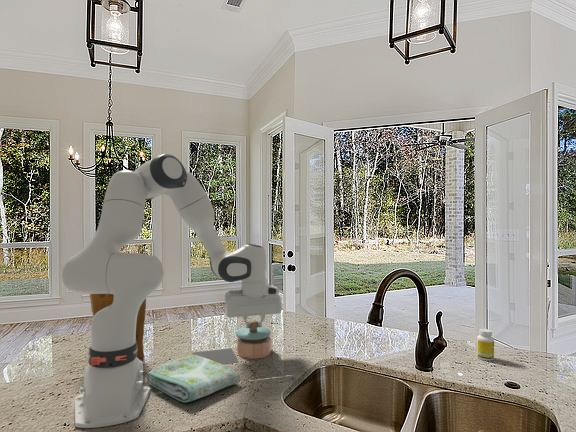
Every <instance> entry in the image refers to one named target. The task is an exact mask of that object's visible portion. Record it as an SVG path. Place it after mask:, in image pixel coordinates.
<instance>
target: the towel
mask: <svg viewBox="0 0 576 432" xmlns="http://www.w3.org/2000/svg"><path fill="white" fill-rule="evenodd" d="M147 374H148V381H149V382H148V383H149V385H150V386H151V387H153V388H155V389H156V390H158V391H160V392H162V393H165V394H166V395H168V396H169V397H171V398H173V399H175V400H177V401H178V402H181V403H189V402H193V401H196V400H198V399H201V398H203V397H204V398H205V397H206V396H209V395H211V394H213V393H216V392H217V391H221V390H222V389H225V388H227V387H230V386H232V385H233V386H234V385H235V384H237V383H238V382H239V381H240V379H241V375H240V374H239V372H238V371H237V370H234V369H233V368H232V367H229V366H227V365H226V364H219V363H217V362H215V361H212V360H210V359H206V358H203V357H201V356H198V355H193V354H189V355H186V356H183V357H180V358H177V359H174V360H170V361H168V362H166V363H164V364H163V363H162V364H160V365H159V366H156V367H154V368H152V369H151V370H150V371H149V372H148V373H147Z"/></svg>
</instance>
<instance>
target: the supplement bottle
mask: <svg viewBox="0 0 576 432" xmlns="http://www.w3.org/2000/svg"><path fill="white" fill-rule="evenodd" d="M478 331H479V332H478V333H479V335H477V337H476V357H477V358H478V359H479V360H481V361H489V362H490V361H491V362H492V361H493V360H494V359H495V339H494V337H493V330H491V329H487V328H480V329H479V330H478Z"/></svg>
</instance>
